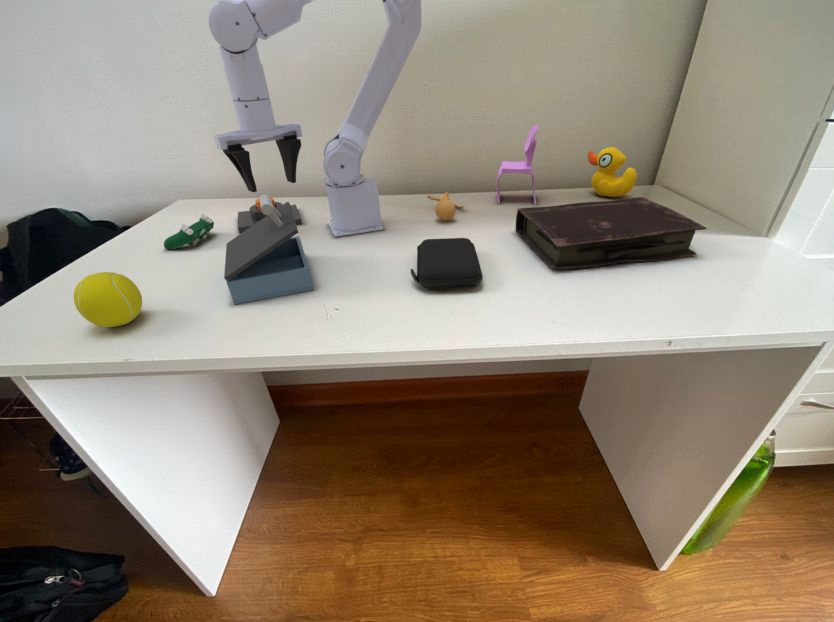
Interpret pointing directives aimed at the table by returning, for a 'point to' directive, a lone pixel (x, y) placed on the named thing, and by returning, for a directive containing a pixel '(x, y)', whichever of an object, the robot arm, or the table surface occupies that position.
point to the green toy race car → (190, 233)
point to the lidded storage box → (273, 275)
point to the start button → (260, 205)
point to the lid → (260, 237)
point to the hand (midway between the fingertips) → (272, 186)
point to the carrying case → (447, 264)
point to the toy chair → (521, 166)
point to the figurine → (445, 207)
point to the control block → (260, 216)
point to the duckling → (611, 173)
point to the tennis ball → (107, 299)
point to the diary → (606, 232)
